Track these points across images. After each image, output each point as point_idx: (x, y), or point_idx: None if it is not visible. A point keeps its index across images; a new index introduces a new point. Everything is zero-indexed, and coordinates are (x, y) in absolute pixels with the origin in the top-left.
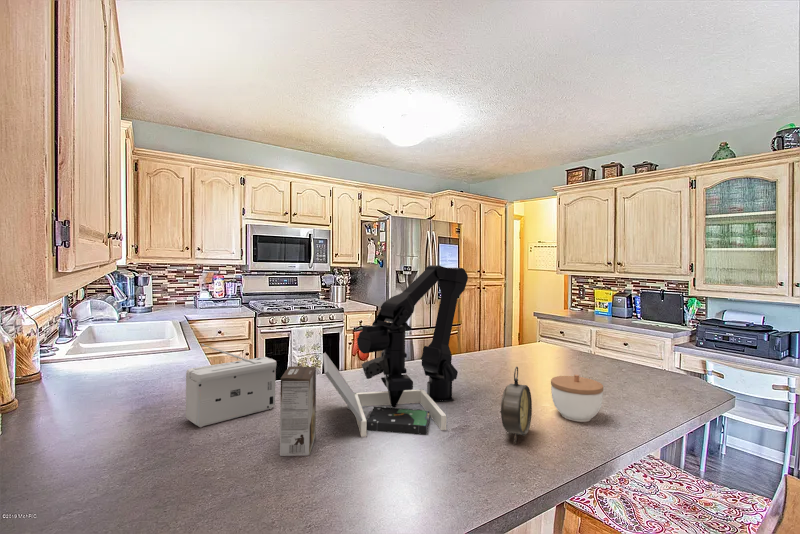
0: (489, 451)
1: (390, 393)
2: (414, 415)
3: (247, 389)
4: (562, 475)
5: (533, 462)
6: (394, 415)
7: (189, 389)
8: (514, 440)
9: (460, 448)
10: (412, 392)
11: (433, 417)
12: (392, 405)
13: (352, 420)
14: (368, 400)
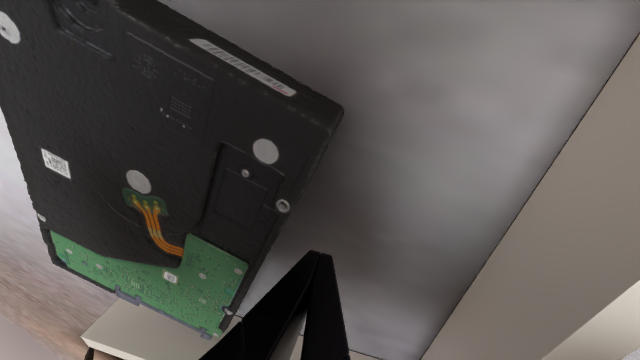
0: (45, 296)
1: (204, 358)
2: (152, 279)
3: None
4: (7, 317)
5: (32, 317)
6: (137, 202)
7: None
8: (89, 349)
9: (34, 261)
10: None
11: None
12: (300, 263)
13: None
14: (633, 142)
